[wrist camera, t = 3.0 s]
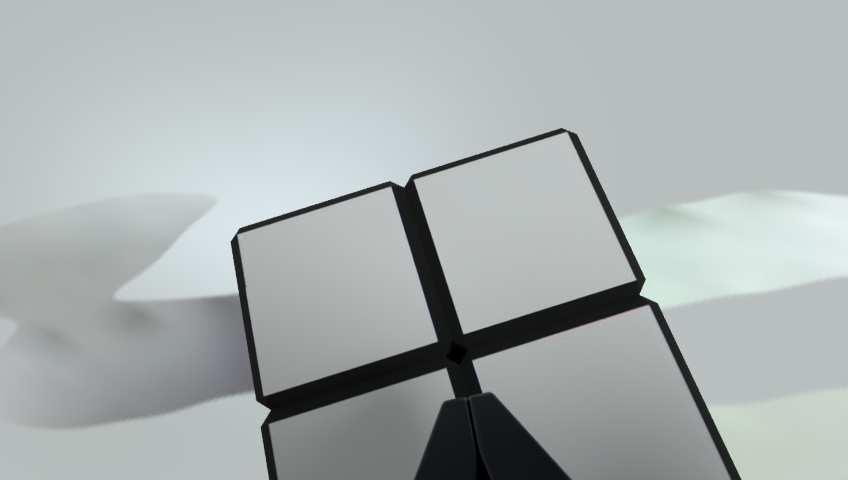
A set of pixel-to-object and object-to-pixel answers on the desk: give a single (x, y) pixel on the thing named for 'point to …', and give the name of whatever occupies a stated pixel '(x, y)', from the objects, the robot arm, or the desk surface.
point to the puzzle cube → (467, 324)
